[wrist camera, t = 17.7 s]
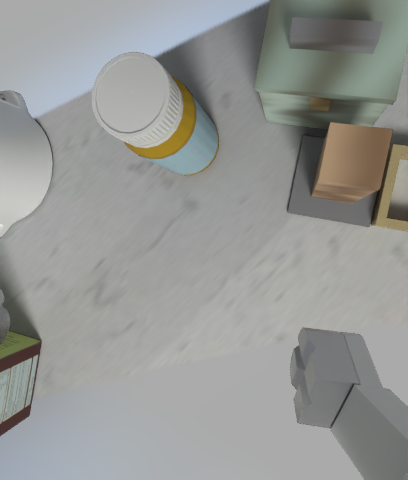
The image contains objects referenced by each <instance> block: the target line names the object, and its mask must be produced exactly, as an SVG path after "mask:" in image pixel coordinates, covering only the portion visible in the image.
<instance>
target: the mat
mask: <svg viewBox="0 0 408 480" xmlns="http://www.w3.org/2000/svg"><path fill="white" fill-rule="evenodd" d="M324 141H325V138H321V137H313V136H304V135H303V140H302V145H301V150H300V155H299V159H298V164H297V169H296V174H295V179H294V184H293V189H292V194H291V199H290V204H289V208H288V213H293V214H298V215H304V216H310V217H315V218H321V219H327V220H332V221H338V222H344V223H349V224H355V225H361V226H366V227H370V222H371V218H372V213H373V209H374V204H375V200H376V195H377V191H378V190H377V191H375V192H373V193H372V194H370V195H368V196H366V197H364V198H362V199H360V200H358V201H356V202H354V203H347V202H341V201H334V200H328V199H322V198H316V197H311V195H312V191H313V186H314V181H315V176H316V171H317V166H318V162H319V157H320V154H321V151H322V148H323V144H324Z"/></svg>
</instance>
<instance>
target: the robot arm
mask: <svg viewBox="0 0 408 480" xmlns="http://www.w3.org/2000/svg"><path fill="white" fill-rule="evenodd" d="M52 167H53V162H52V152H51V148H50V144H49V141H48V139H47V136H46V135H45V133H44V131H43V129H42V128H41V127H40V125H39V124H38V123H37V122H36V121H35V120H34V119H33V118H32V117H31V115H30V114H29V113H28V110H27V107H26V104H25V101H24V99H23V97H22V96H21V95H20V94H19V93H17V92H14V91H2V92H0V237H2V236H3V235H4V234H5V232H6V231H7V230H8V229H9V227H10V226H11V225H12V224H13V223H15V222H16V221H18V220H20V219H22V218H24V217H26V216H27V215H29V214H30V213H31V212H33V211H34V210H35V209H36V208H37V206H38V205H39V204H40V203H41V201H42V200H43V198H44V196H45V194H46V192H47V190H48V187H49V184H50V181H51V176H52ZM4 300H5V298H4V295H3V292H2V290H0V345H1V344H2V342H3V341H4V339H5V338H6V336H7V333H8V330H9V327H10V316H9V312H8V311H7V310H6V309H5V308H4V307H3V306H2V305H1V304H2V303H3V302H4ZM298 341H299V346H297V347H296V348H294V350H293V354H292V357H291V364H290V376H291V383H292V385H293V386H294V387H295V388H296V390H297V392H296V394H295V397H294V404H295V411H296V417H297V423H299V424H306V425H312V426H318V427H324V428H330V429H331V432H332V433H333V435H334V436H335V437H336V439H337V440H338V442H339V443H340V445H341V446H342V448H343V449H344V451H345V452H346V453H347V455H348V456H349V458H350V459H351V461H352V462H353V464H354V465H355V466H356V468H357V469H358V471H359V472H360V474H361V475H362V477H363V478H364V479H365V480H408V406H406V405H405V404H404V403H403V402H402V401H401V400H400V399H399V398H398V397H397V396H396V395H395V394H394V393H393V392H392V391H391V390H390V389H386V388H383V387H382V384H381V382H380V379H379V377H378V374H377V371H376V369H375V366H374V364H373V361H372V359H371V356H370V354H369V351H368V349H367V346H366V344H365V341H364V339H363V337H362V336H361V335H360V334H355V333H346V332H337V331H329V330H320V329H312V328H304V327H303V328H302V329H301V330H300V333H299V336H298Z"/></svg>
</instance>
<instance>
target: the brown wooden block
mask: <svg viewBox="0 0 408 480" xmlns="http://www.w3.org/2000/svg"><path fill="white" fill-rule="evenodd" d="M392 132H393V129H386V128H377V127H368V126H359V125H350V124H341V123H332V122H330V125H329V128H328V132H327V135H326V138H325V141H324V144H323V148H322V151H321V154H320V157H319V162H318V166H317V171H316V176H315V181H314V186H313V191H312V195H311V197H316V198H322V199H328V200H334V201H341V202H347V203H354V202H356V201H358V200H360V199H362V198H364V197H366V196H368V195H370V194H372V193H373V192H375V191H377V190H379V189H380V187H381V182H382V178H383V173H384V168H385V164H386V159H387V155H388V150H389V146H390V141H391V136H392Z"/></svg>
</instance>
